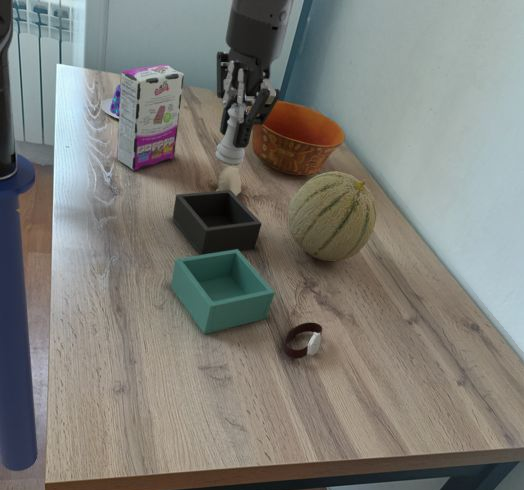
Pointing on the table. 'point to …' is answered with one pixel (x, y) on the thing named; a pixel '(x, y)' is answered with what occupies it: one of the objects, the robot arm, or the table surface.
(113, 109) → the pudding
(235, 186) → the decorative ornament
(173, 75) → the candy bar box
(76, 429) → the table surface
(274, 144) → the bowl
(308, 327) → the watch
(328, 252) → the cantaloupe
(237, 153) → the rook chess piece
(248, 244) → the charcoal bin
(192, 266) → the sea-green bin
